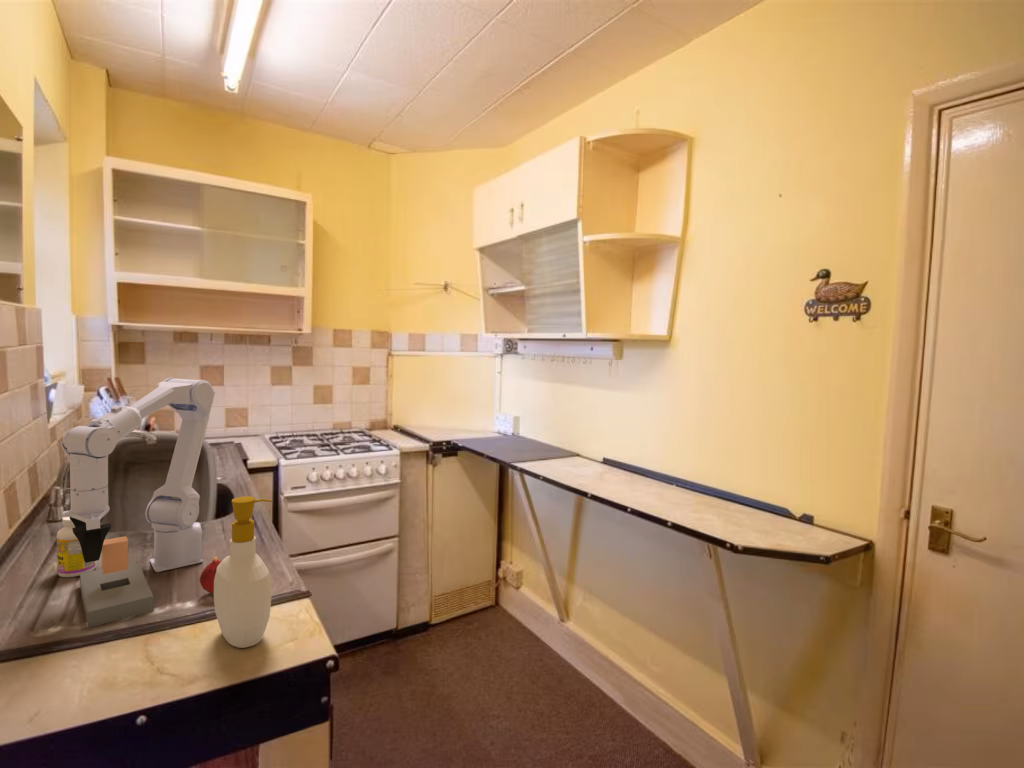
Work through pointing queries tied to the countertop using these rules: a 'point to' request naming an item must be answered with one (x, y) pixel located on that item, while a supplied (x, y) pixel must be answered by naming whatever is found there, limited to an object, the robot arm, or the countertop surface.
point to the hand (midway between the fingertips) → (90, 554)
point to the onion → (209, 575)
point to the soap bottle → (242, 582)
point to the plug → (115, 555)
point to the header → (115, 594)
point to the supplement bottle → (70, 552)
